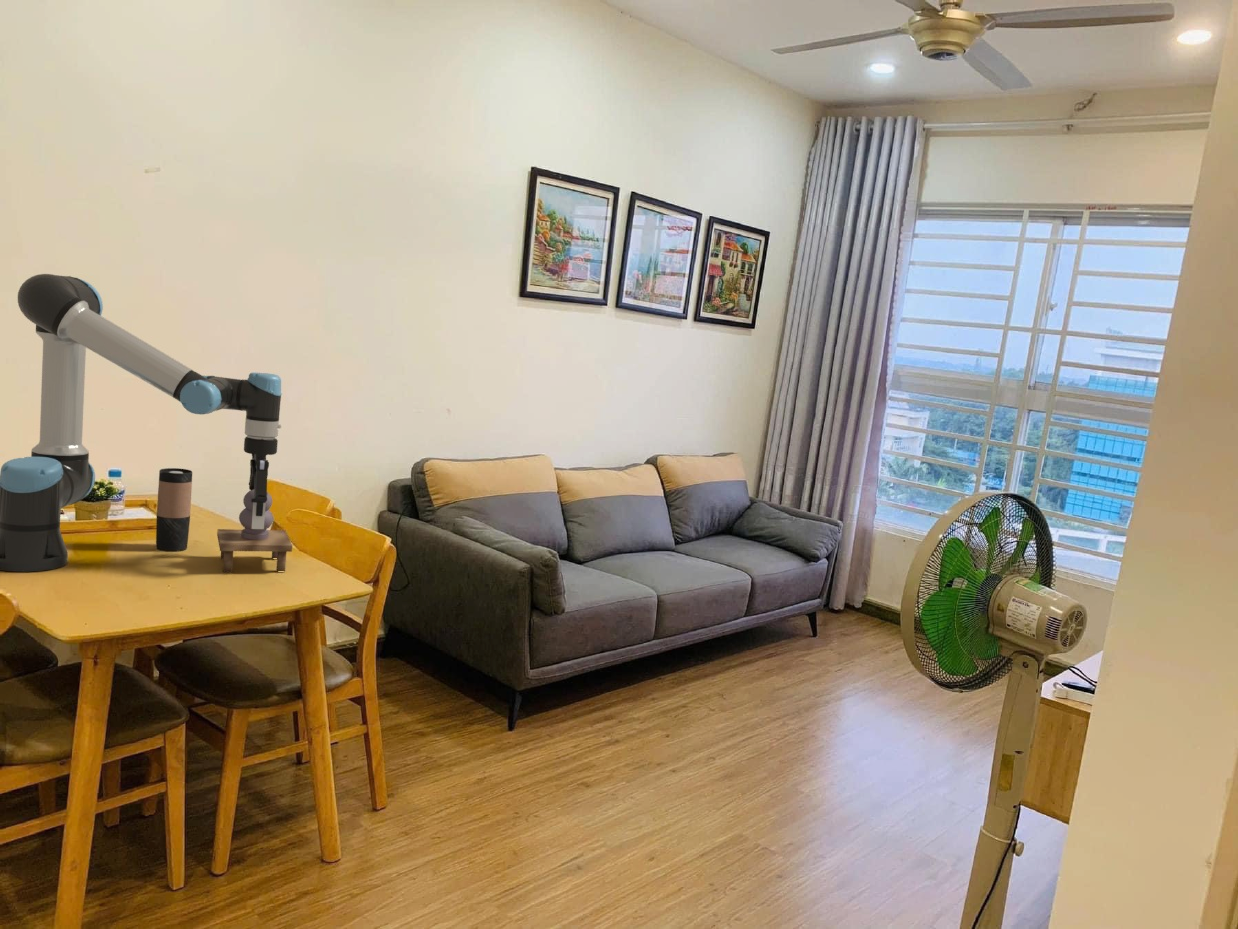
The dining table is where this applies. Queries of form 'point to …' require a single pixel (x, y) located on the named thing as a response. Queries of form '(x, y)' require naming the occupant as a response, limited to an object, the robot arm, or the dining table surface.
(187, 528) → the travel mug
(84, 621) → the dining table surface
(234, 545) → the footstool
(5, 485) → the robot arm
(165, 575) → the dining table surface
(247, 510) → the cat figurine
